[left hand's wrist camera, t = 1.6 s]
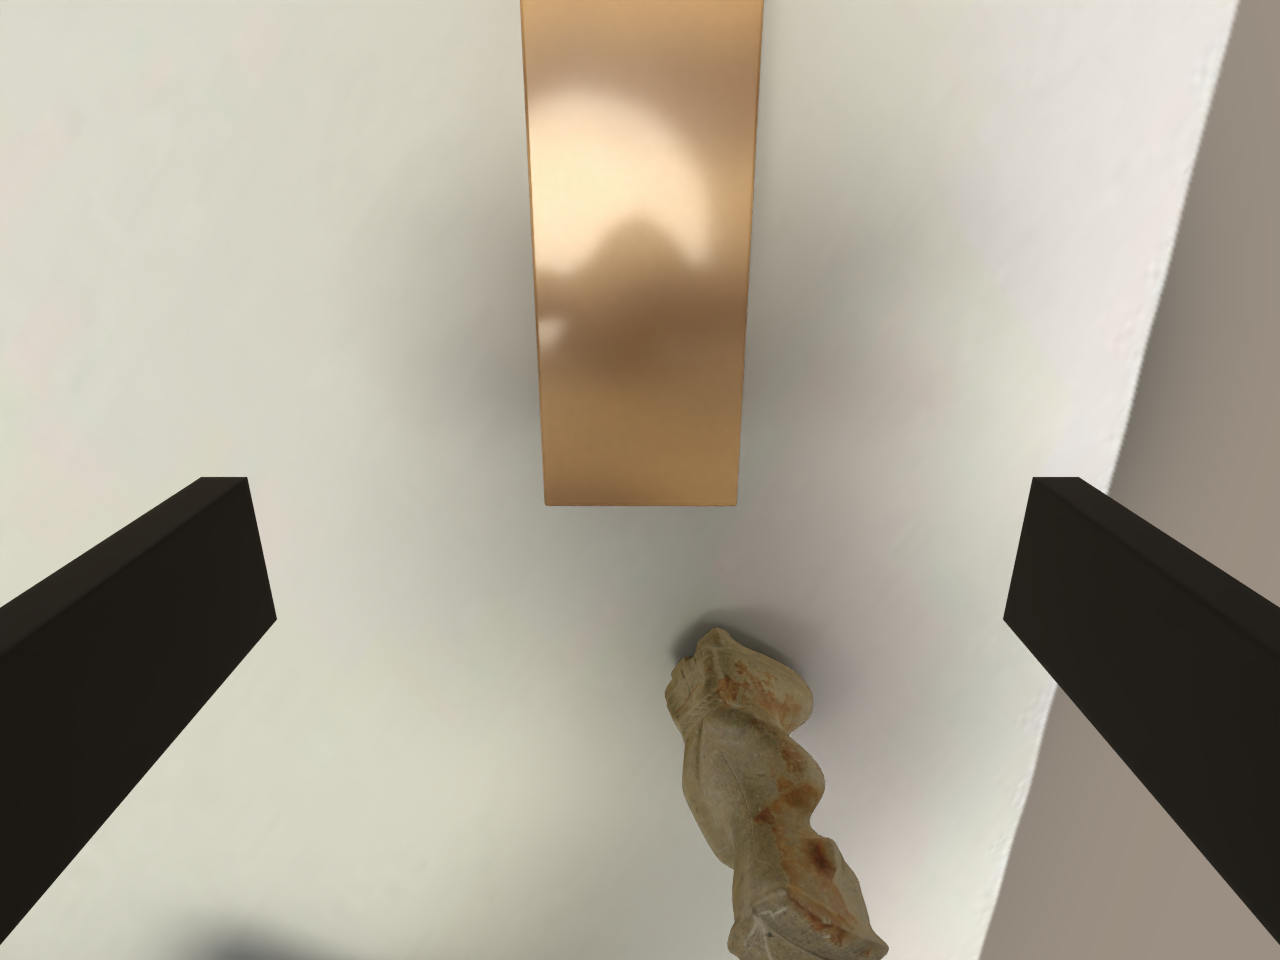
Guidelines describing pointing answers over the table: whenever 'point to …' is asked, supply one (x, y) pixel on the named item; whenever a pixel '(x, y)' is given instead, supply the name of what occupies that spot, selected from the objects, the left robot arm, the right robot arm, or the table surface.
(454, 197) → the table surface
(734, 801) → the sculpture
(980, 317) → the table surface
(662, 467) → the box
